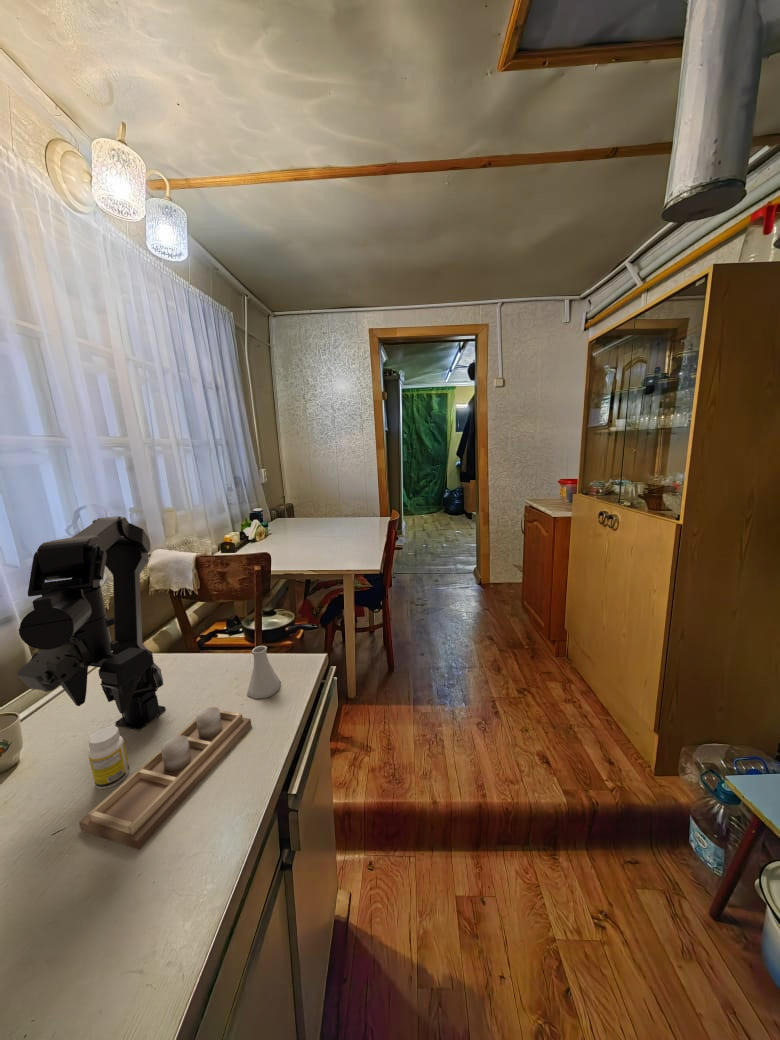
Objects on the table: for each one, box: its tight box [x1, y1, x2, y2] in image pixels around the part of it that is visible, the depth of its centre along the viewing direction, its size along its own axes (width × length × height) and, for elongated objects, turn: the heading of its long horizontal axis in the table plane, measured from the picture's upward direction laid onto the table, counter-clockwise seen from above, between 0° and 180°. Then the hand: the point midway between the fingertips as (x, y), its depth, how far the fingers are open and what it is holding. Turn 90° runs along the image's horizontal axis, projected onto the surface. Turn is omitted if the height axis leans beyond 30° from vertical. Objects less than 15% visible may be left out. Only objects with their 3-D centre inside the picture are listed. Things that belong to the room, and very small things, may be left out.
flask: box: [246, 645, 282, 699], centre depth 85 cm, size 7×7×10 cm
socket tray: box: [78, 706, 252, 851], centre depth 64 cm, size 11×24×5 cm, turn 164°
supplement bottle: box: [88, 725, 130, 790], centre depth 63 cm, size 5×5×8 cm
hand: (102, 708), depth 62 cm, fingers open, 9 cm apart
